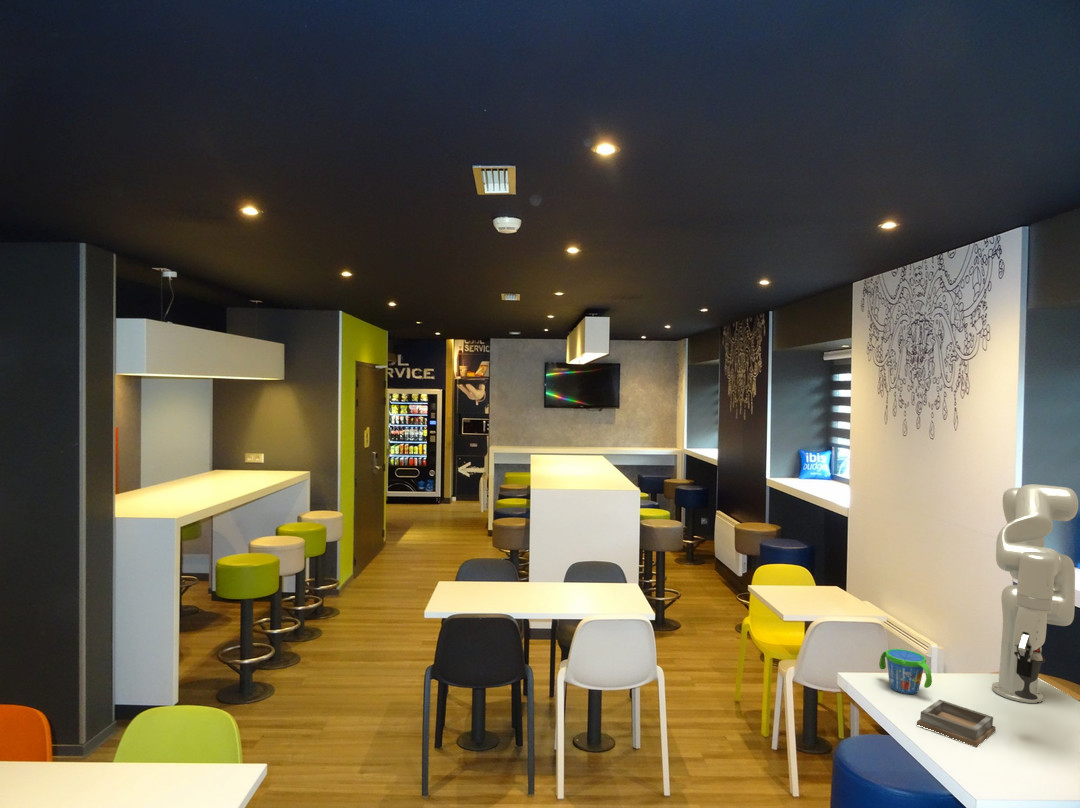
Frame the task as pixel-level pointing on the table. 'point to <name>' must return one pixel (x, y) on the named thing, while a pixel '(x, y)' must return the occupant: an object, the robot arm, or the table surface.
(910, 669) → the snack cup
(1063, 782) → the table surface
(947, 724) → the stand
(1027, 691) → the sundae
